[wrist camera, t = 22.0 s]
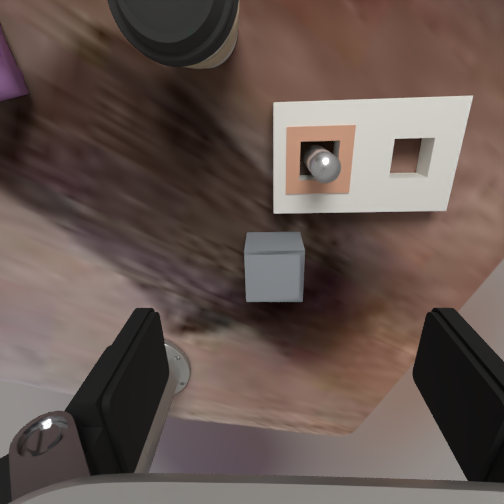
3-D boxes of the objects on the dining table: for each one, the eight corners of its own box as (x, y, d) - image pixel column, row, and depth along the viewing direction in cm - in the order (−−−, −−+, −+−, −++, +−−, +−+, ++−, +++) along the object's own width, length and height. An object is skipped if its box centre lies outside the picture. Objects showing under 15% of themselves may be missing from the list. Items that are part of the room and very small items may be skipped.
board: (433, 203, 39) (447, 211, 36) (273, 206, 40) (273, 214, 37) (456, 96, 34) (474, 95, 31) (273, 102, 35) (273, 102, 32)
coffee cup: (265, 15, 32) (265, -54, 18) (220, 97, 35) (191, 91, 22) (188, -48, 30) (123, -175, 17) (147, 45, 34) (66, 3, 20)
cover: (298, 278, 45) (302, 301, 39) (248, 278, 45) (246, 301, 39) (299, 231, 42) (304, 250, 36) (247, 232, 42) (244, 250, 37)
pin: (325, 168, 38) (339, 182, 31) (302, 169, 38) (311, 183, 31) (327, 144, 37) (342, 153, 30) (303, 145, 37) (312, 154, 30)
